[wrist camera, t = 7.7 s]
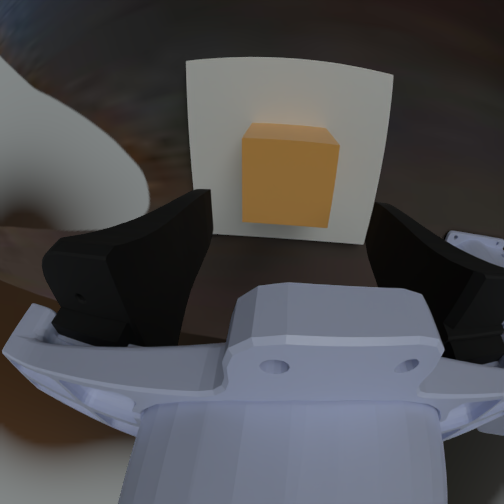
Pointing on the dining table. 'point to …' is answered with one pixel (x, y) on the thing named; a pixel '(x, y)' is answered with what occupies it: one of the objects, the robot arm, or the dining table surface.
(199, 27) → the dining table surface
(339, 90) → the plate
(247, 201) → the tilted mustard cube
